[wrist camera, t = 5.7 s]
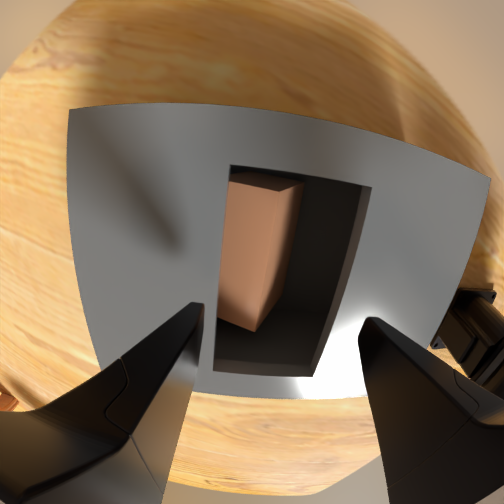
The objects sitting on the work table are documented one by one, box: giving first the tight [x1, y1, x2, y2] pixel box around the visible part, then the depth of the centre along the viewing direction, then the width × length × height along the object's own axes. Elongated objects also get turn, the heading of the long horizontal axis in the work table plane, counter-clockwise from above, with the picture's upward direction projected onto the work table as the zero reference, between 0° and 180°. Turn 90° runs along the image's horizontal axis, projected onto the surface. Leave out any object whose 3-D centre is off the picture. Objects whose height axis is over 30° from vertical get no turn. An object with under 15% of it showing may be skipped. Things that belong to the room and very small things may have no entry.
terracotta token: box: [217, 171, 305, 332], centre depth 14 cm, size 3×6×4 cm, turn 174°
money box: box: [67, 103, 491, 399], centre depth 13 cm, size 16×12×8 cm
